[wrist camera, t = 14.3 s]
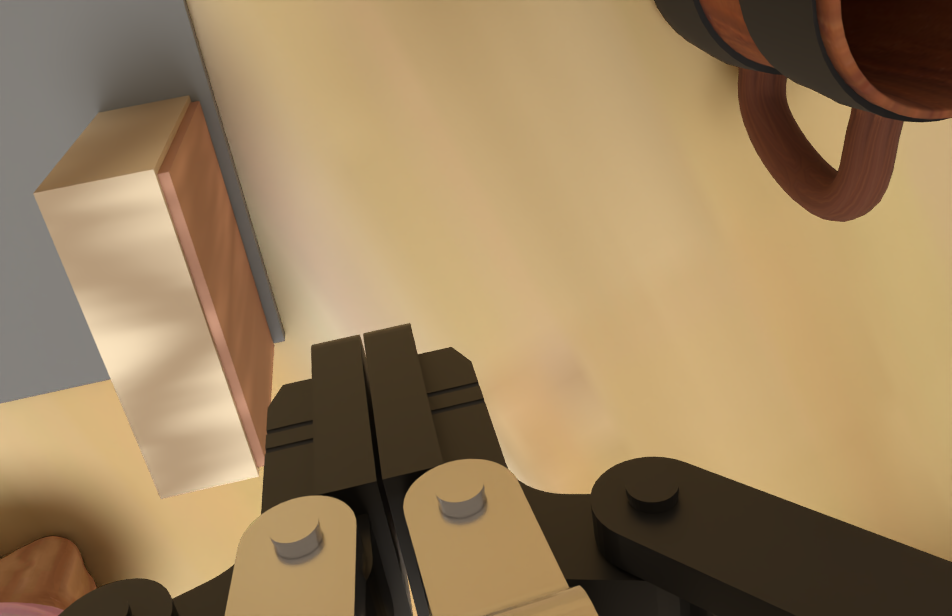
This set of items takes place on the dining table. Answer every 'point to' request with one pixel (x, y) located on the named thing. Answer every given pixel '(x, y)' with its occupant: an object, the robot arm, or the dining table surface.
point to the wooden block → (166, 290)
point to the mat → (52, 134)
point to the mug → (829, 83)
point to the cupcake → (43, 578)
